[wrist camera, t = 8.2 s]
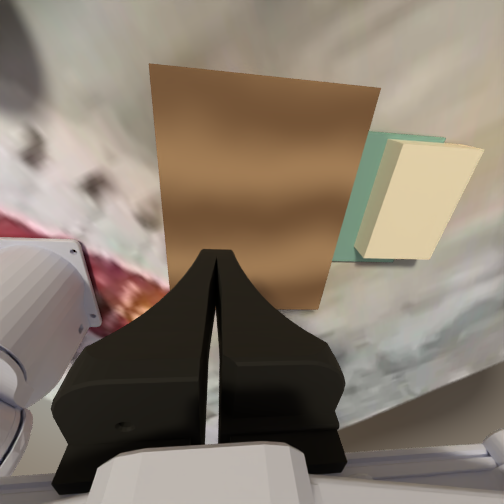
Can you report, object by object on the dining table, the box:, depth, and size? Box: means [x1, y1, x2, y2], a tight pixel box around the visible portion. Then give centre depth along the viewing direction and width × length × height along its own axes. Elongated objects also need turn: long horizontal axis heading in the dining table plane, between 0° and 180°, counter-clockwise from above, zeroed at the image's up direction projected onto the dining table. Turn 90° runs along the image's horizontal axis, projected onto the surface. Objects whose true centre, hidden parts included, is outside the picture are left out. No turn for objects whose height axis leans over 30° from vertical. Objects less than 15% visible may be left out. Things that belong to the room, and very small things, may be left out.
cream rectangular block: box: [354, 139, 484, 259], centre depth 21 cm, size 9×6×2 cm, turn 175°
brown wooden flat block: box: [149, 64, 381, 310], centre depth 20 cm, size 16×12×4 cm
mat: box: [332, 131, 446, 262], centre depth 22 cm, size 11×8×1 cm
